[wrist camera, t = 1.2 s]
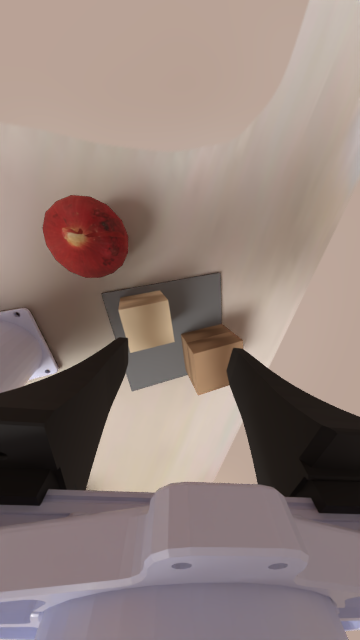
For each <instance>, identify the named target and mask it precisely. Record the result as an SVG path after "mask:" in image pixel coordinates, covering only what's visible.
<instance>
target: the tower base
mask: <svg viewBox="0 0 360 640" xmlns="http://www.w3.org/2000/svg"><path fill="white" fill-rule="evenodd" d="M227 332H231V331H230V330H229V329H228V328H226V327H225V326H224V325H222V324H219V325H215V326H211V327H207V328H203V329H199V330H195V331H191V332H187V333H183V334H181V340H182V347H183V355H184V362H185V369H186V372H187V374H188V376H189V378H190V380H191V375H190V367H189V359H188V351H187V343H188V342H192V341H196V340H200V339H204V338H208V337H212V336H215V335H219V334H223V333H227Z"/></svg>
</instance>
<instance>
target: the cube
mask: <svg viewBox="0 0 360 640" xmlns="http://www.w3.org/2000/svg"><path fill="white" fill-rule="evenodd" d="M118 311H119V314H120V318H121V322H122V325H123V329H124V332H125V336H126V338H128V346H129V350H130V353H133V352H136V351H140V350H144V349H148V348H152V347H156V346H160V345H164V344H168V343H172V342H175V341H174V335H173V328H172V322H171V315H170V309H169V303H168V299H167V298H166V297H165V296H164V295H163V293H162V292H161V291H160V290H159V291H153V292H148V293H143V294H137V295H132V296H127V297H121V298H120V302H119V309H118Z"/></svg>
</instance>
